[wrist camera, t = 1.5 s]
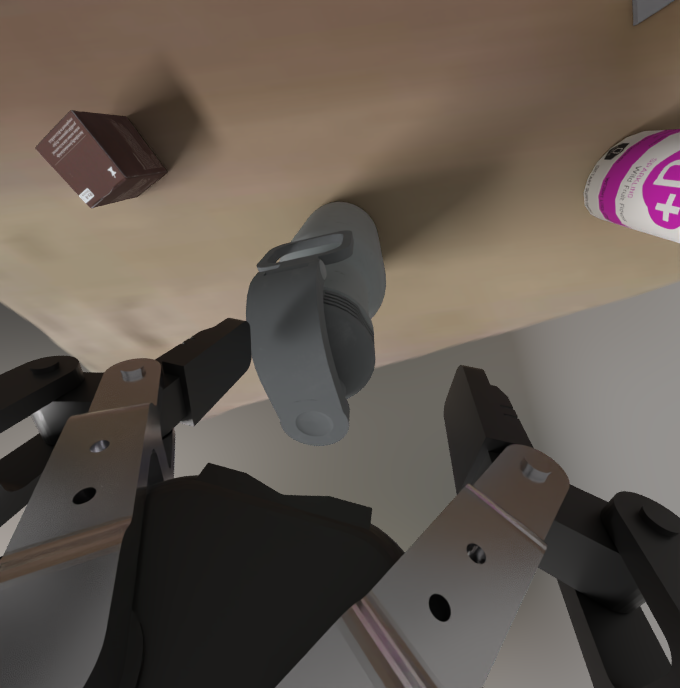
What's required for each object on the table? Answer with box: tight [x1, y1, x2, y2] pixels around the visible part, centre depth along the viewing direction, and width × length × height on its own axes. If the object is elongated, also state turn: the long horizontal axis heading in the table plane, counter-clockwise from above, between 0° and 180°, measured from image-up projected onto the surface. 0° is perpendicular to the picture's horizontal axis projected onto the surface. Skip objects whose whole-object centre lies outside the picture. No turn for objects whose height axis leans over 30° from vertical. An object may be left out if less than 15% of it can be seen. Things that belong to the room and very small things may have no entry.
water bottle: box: [246, 202, 386, 446], centre depth 25 cm, size 10×10×28 cm
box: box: [35, 110, 167, 208], centre depth 30 cm, size 6×6×7 cm
